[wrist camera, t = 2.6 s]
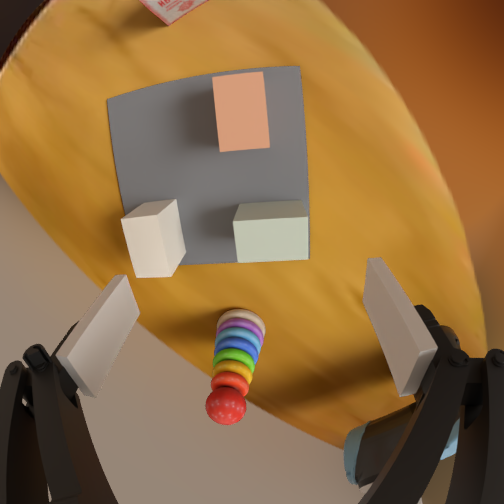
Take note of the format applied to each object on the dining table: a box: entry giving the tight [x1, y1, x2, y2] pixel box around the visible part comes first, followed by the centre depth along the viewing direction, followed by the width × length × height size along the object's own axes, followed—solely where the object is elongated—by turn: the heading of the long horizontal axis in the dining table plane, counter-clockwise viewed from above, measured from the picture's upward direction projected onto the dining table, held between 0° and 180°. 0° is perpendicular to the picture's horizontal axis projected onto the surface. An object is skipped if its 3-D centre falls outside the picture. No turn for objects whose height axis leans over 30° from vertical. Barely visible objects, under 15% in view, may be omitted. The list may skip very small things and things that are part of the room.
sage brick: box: [233, 200, 308, 263], centre depth 34 cm, size 8×5×7 cm, turn 95°
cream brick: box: [121, 199, 186, 278], centre depth 35 cm, size 8×5×7 cm, turn 5°
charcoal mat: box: [107, 66, 310, 265], centre depth 35 cm, size 26×26×1 cm
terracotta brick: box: [212, 72, 270, 152], centre depth 28 cm, size 8×5×7 cm, turn 5°
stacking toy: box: [206, 309, 265, 425], centre depth 37 cm, size 8×8×19 cm
